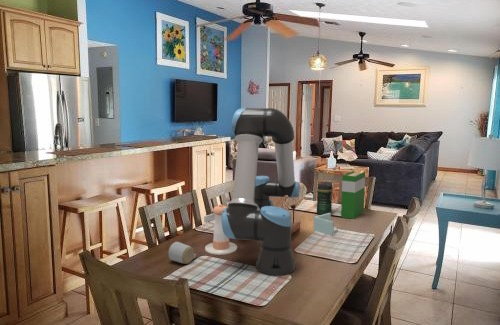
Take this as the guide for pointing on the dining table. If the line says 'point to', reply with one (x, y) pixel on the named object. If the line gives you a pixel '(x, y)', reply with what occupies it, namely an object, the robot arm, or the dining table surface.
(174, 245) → the ceramic mug
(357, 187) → the hardback book
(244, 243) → the dining table surface
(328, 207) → the coffee jar
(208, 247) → the cream saucer
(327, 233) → the l-shaped corner panel
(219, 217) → the pepper shaker
